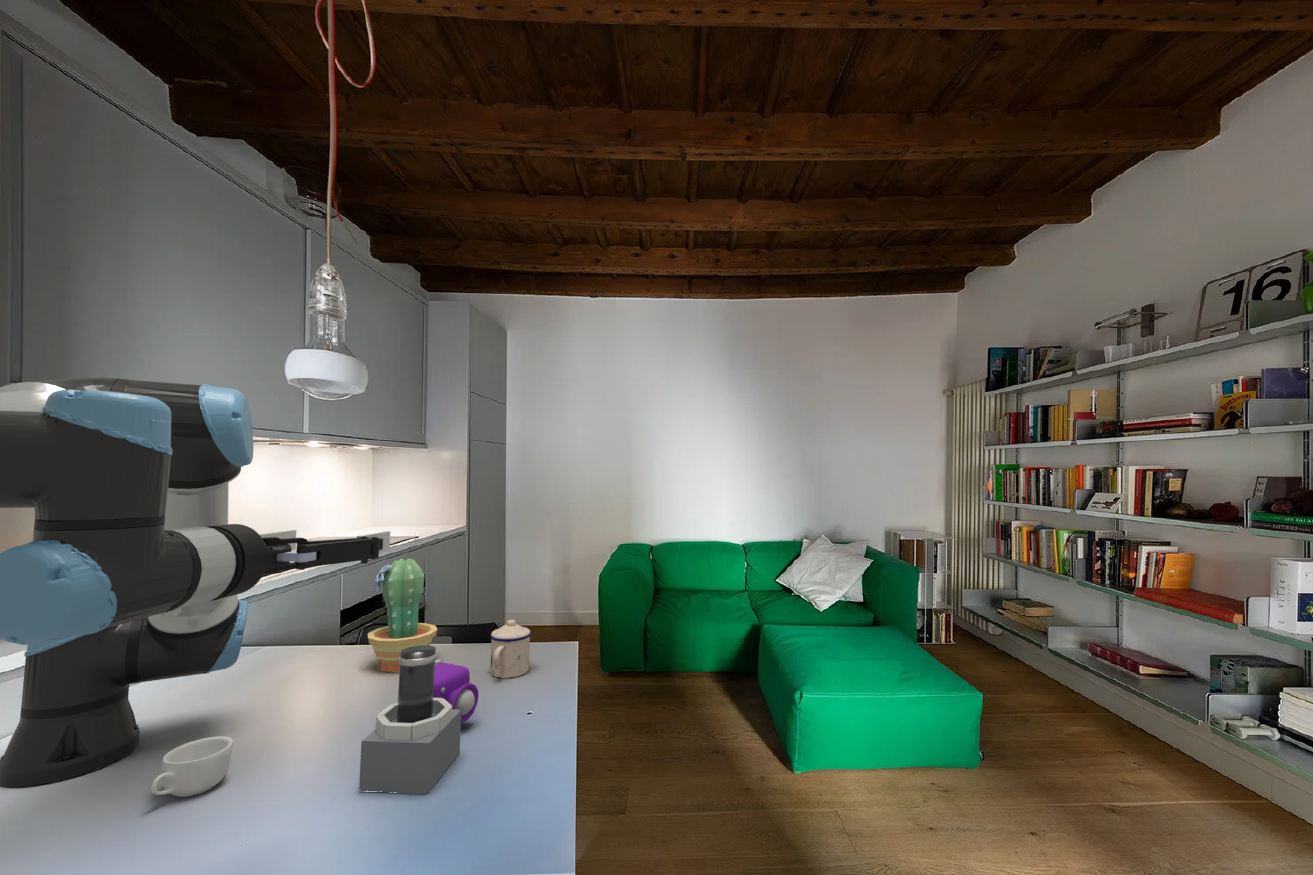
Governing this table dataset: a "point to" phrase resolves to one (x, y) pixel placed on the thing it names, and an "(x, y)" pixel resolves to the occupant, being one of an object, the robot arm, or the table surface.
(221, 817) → the table surface
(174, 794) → the teacup
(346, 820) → the table surface
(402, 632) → the potted cactus
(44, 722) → the robot arm
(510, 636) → the teacup with lid
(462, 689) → the toy camera
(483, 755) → the table surface
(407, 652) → the lens
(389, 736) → the camera body block
